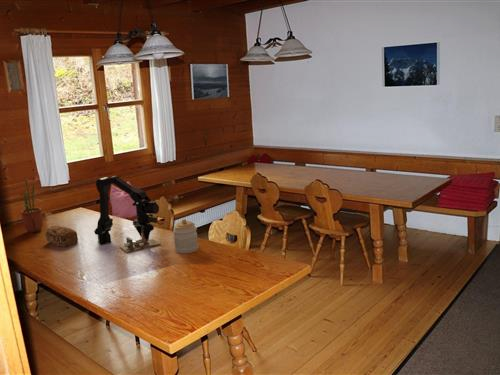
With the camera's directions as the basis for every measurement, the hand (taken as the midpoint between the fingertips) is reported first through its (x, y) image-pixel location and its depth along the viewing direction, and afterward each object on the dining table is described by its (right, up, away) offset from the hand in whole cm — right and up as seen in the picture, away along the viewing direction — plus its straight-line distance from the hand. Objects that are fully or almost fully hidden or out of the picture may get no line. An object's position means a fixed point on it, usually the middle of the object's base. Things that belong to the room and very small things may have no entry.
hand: (144, 239), depth 278 cm
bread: (-54, -4, +17) cm, 57 cm away
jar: (+26, -5, -11) cm, 29 cm away
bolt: (-4, -3, -2) cm, 6 cm away
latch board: (-2, -4, -1) cm, 5 cm away
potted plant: (-82, 0, +45) cm, 94 cm away
